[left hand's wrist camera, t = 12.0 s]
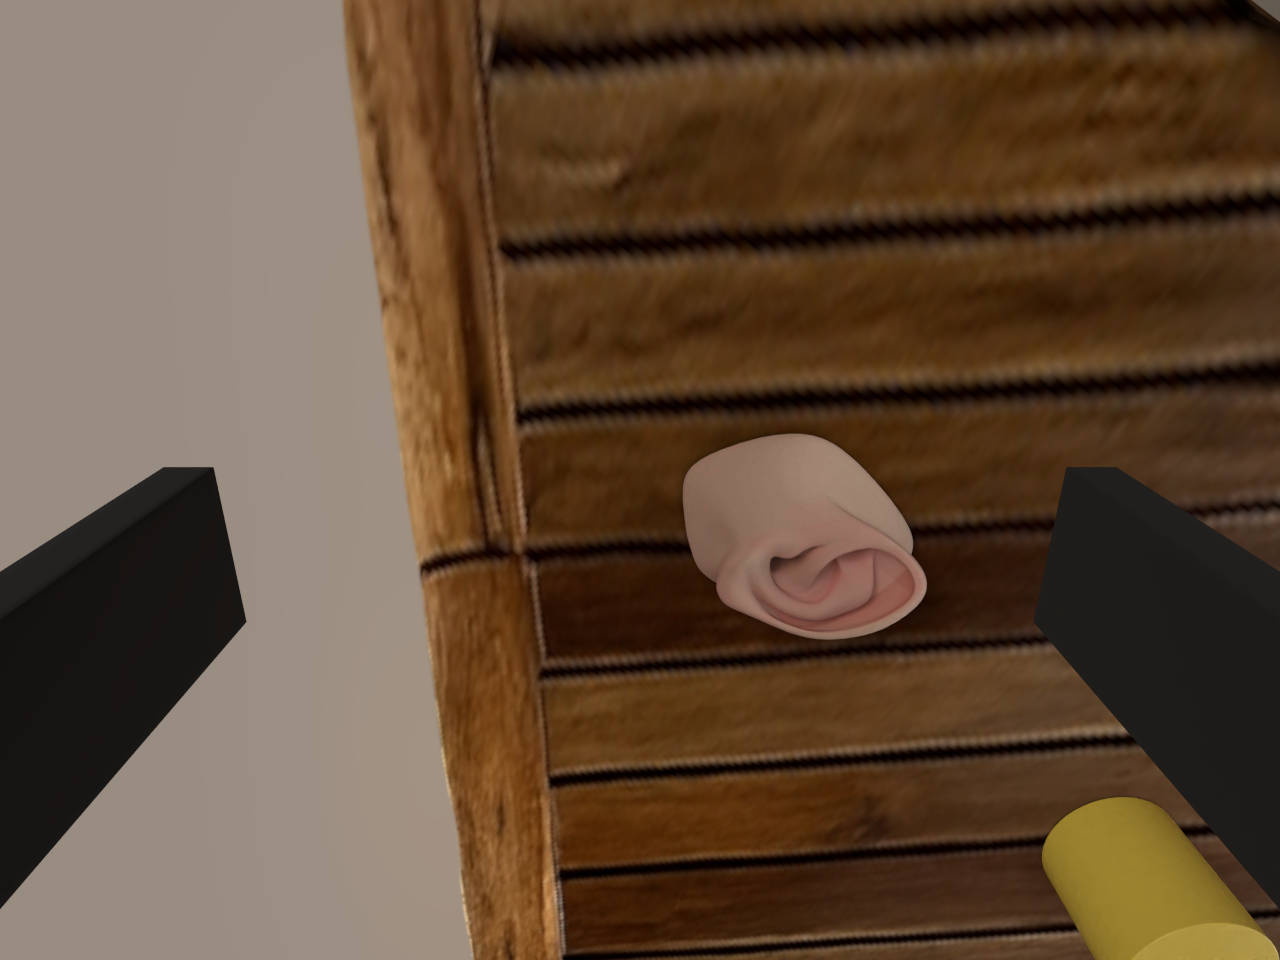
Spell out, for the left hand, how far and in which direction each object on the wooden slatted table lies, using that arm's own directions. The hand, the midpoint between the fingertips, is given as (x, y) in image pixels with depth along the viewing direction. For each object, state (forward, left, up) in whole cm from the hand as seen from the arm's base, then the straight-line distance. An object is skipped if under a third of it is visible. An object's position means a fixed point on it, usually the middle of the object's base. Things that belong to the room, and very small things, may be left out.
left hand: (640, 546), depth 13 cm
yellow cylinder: (-28, +42, -30) cm, 59 cm away
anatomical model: (-7, +15, -30) cm, 35 cm away
